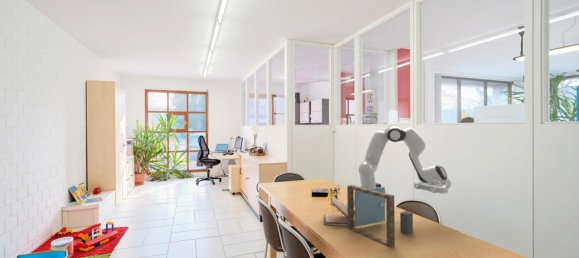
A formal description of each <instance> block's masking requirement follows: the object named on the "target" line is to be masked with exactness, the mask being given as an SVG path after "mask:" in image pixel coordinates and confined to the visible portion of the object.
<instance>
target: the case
mask: <svg viewBox="0 0 579 258" xmlns="http://www.w3.org/2000/svg"><path fill="white" fill-rule="evenodd" d="M330 201H331V204H332V205H333V206H334V207H335V208H336V209H337V210H338V211H339V212H341V213H325V214H324V215H323V225H324V226H336V227H337V226H339V227H340V226H341V227H348V207H347V206H345V204H343V203H342V202H341V201H340V200H339V199H337V198H336V197H335V196H334V195H330ZM354 224H355V219H354Z"/></svg>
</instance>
